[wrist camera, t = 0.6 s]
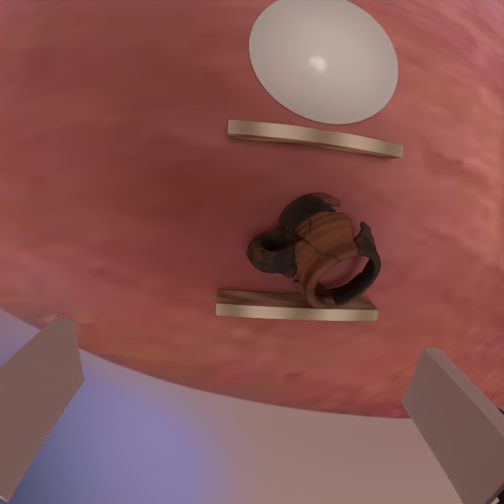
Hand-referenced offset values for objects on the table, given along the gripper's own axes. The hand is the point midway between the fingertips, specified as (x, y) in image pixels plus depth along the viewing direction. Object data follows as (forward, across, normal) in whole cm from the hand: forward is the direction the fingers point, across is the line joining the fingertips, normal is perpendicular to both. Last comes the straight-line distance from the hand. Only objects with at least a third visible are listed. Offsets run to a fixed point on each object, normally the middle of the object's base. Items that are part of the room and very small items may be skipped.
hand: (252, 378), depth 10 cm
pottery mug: (+22, +5, +2) cm, 23 cm away
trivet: (+21, +6, +21) cm, 30 cm away
